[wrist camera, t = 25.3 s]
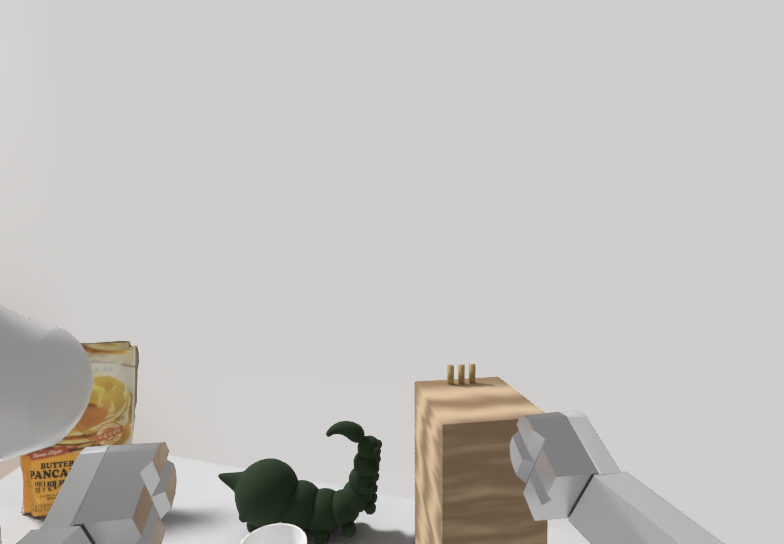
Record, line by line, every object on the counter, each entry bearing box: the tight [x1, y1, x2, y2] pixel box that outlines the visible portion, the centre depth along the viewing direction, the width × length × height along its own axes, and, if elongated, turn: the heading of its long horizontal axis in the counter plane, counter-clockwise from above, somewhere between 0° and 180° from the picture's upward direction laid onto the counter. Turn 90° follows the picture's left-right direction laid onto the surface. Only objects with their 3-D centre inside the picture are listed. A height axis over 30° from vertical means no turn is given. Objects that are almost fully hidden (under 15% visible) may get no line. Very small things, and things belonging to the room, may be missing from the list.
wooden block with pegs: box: [415, 364, 547, 544], centre depth 54 cm, size 14×12×28 cm
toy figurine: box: [219, 421, 382, 544], centre depth 67 cm, size 9×19×25 cm
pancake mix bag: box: [20, 341, 139, 517], centre depth 74 cm, size 7×19×28 cm, turn 103°
